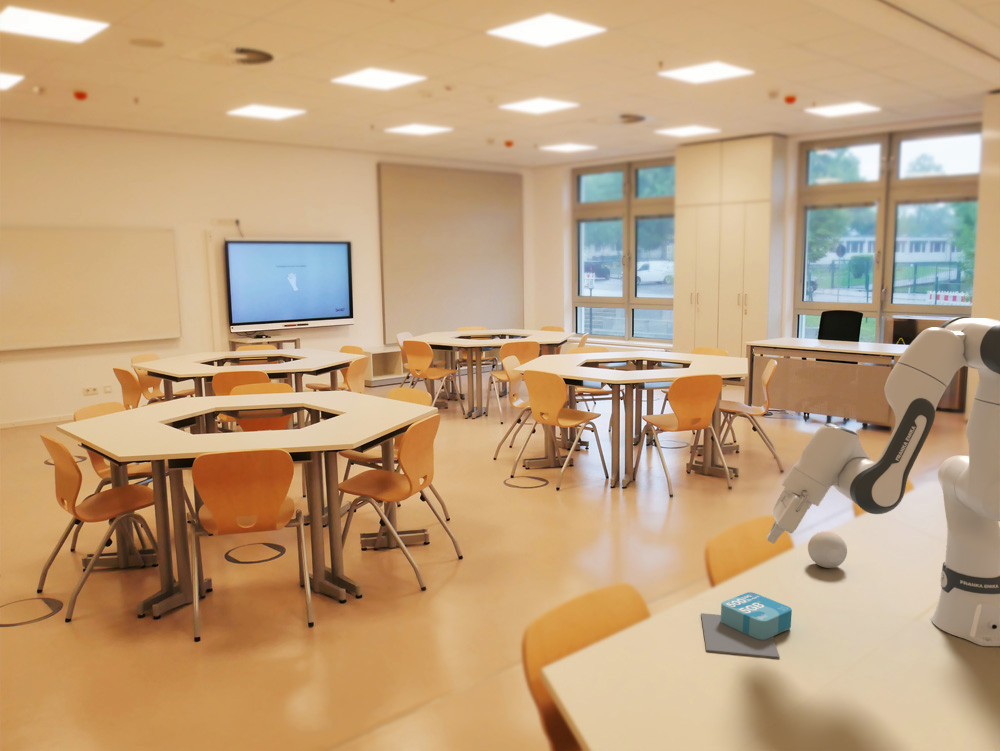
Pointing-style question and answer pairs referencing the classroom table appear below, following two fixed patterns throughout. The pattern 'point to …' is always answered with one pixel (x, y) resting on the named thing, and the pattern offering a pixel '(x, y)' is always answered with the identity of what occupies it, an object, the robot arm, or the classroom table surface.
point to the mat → (734, 640)
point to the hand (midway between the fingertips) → (769, 541)
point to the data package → (756, 615)
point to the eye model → (827, 549)
